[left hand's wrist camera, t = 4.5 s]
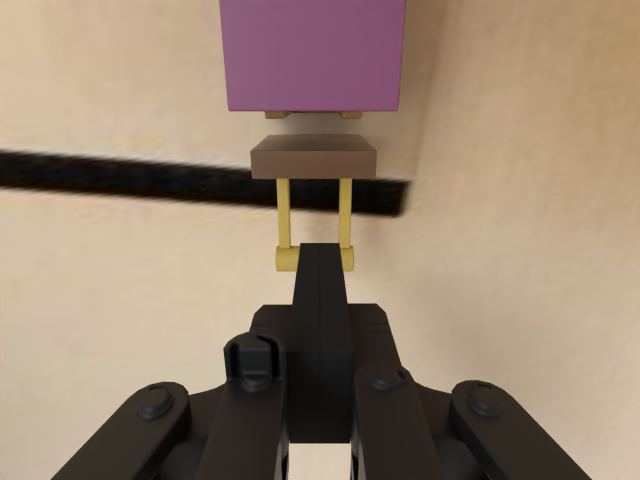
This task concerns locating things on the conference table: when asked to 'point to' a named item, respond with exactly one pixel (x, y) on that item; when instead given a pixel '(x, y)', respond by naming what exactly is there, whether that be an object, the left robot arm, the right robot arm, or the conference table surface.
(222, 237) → the conference table surface
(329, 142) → the drawer
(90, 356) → the conference table surface
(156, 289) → the conference table surface
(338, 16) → the cabinet
